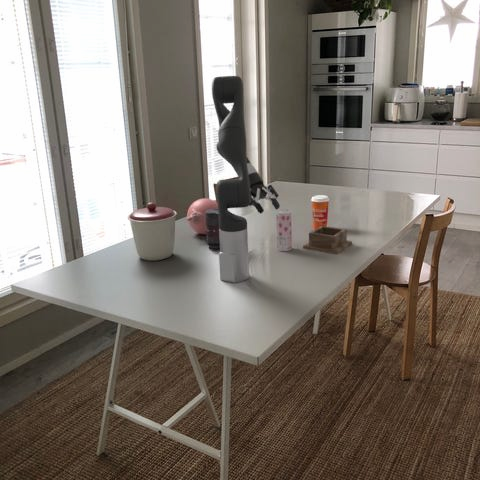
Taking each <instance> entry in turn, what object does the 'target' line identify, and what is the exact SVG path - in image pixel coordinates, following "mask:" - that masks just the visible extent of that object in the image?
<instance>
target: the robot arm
mask: <svg viewBox="0 0 480 480" xmlns="http://www.w3.org/2000/svg"><path fill="white" fill-rule="evenodd" d="M211 95H212V100H213V105H214V109H215V114H216V116H217V120H218V126H219V128H218V134H217V135H218V136H217V137H218V141H217V143H216V146H215V147H216V150H217V153H218V154H219V155H220V156H221V157H222V158H223V159H224V160H225V161H227V162H228V163H229V165H231V167H232V168H233V171H234V172H235V173H236V175H237V177H238V178H229V179H227V178H226V179H219V180H218V181H217V183H216V187H215V192H216V202H217V204H218V214H219V236H220V250H219V252H218V261H219V277H220V278H219V280H221V281H225V282H229V283H233V284H236V283H239V282H243V281H246V280H248V279H249V278H250V267H249V263H250V262H249V242H248V241H249V239H248V220H247V219H246V218H245V217H243V216H241V215H238V214H235V213H232V212H231V211H230V210H229V209H239V208H247V207H251V206H253V207H254V208H255V209H256V210H257V212H258V214H261V215H262V214H263V212H265V210H264V208H263V206H262V205H261V203H260V202H259V201H260V200H261V199H262V200H264V199H265V200H267V201H268V200H269V202H271V204H272V206H273V207H274V209H275V210H278V209H280V208H281V204H280V203H279V201H278V197H279V194H278V193H277V191H276V190H275V188H274V187H273V185H271V184H269V185H268V186H266V185H265V184H264V180H263V178H262V177H261V176H260V174H259V172H258V171H257V169H256V168H255V166H254V165H253V163H252V162H250V160H249V158H248V155H247V135H246V126H245V115H244V113H245V112H244V111H245V110H244V83H243V79H242V78H241V77H240V76H239V75H227V76H226V75H224V76H221V75H220V76H216V77H215V76H214V78H213V79H212V81H211ZM225 104H233V105H232V108H231V110H229V109H228V107H226V105H225Z"/></svg>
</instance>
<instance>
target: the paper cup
mask: <svg viewBox="0 0 480 480" xmlns="http://www.w3.org/2000/svg"><path fill="white" fill-rule="evenodd" d="M330 201H331V199H330V198H329V196H328V195H322V194H320V195H319V194H318V195H313V196H312V197H311V210H312V222H313V223H312V225H313V230H315V229H317V228H319V227H320V226H326V227H328V217H329V216H328V215H329V203H330Z"/></svg>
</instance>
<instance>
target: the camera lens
mask: <svg viewBox="0 0 480 480" xmlns="http://www.w3.org/2000/svg"><path fill="white" fill-rule="evenodd" d="M205 220H206V233H207V235H206V243H207V246H208V249H209V250H211V251H216V252H217V251H220V236H219V214H218V209H211V210H207V211H206V215H205Z"/></svg>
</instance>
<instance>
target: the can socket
mask: <svg viewBox="0 0 480 480" xmlns="http://www.w3.org/2000/svg"><path fill="white" fill-rule="evenodd" d="M347 231H348V230H347V228H339V227H331V226H327V227H326V226H320V227H319V228H317V229H313V230H311V231H310V232H308V242H307V243H306V244H304V245H303V246H302V249H304V250H311V251H316V252H323V253H329V254H333V253H334V254H335V255H338V254H339V253H340V252H342V251H344V250H345V249H346V248H348V247H349V246H350V245H352V244H353V243H352V242H353V240H347V238H348V237H347V235H348V234H347Z"/></svg>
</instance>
